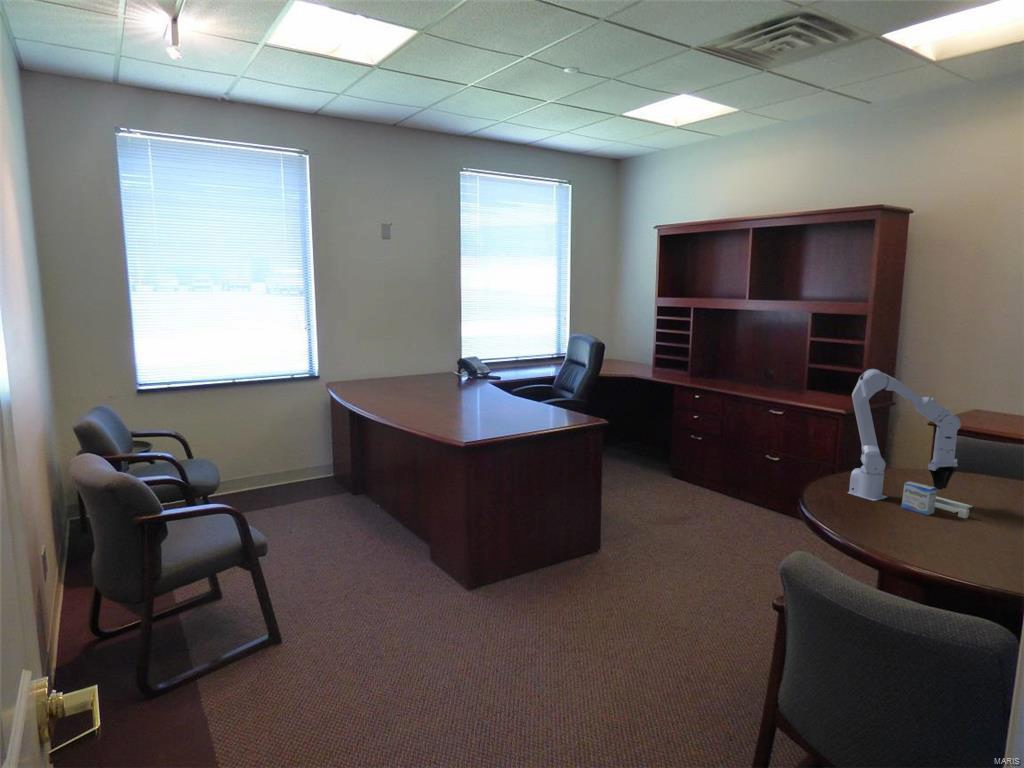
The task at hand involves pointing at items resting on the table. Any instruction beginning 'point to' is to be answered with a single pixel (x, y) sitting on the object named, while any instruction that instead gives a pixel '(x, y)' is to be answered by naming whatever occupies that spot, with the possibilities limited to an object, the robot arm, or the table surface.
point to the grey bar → (952, 504)
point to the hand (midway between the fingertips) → (940, 488)
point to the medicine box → (919, 498)
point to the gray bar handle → (963, 513)
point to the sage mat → (949, 508)
